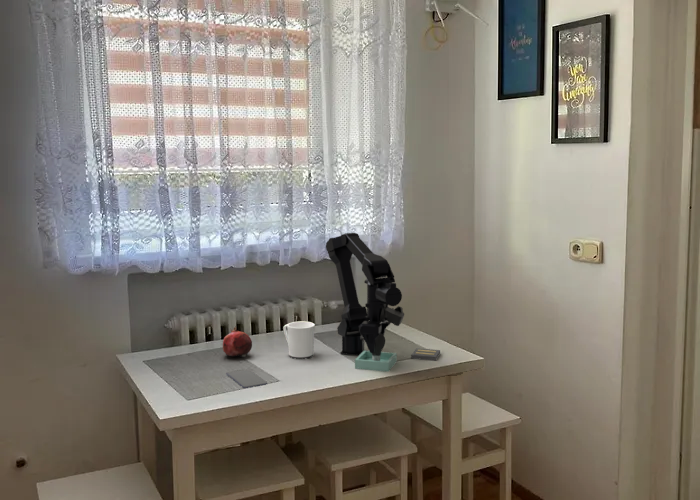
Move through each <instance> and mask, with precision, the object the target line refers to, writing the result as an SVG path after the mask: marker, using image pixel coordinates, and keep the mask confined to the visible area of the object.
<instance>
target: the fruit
mask: <svg viewBox="0 0 700 500" xmlns="http://www.w3.org/2000/svg"><path fill="white" fill-rule="evenodd" d="M230 331H231V332H230V333H228V334H227V335H225V336H224V337H223V341H222V350H223V352H224V354H226V355H227V356H229V357H245V358H247V355H248V354H249V353H250V352H251V350H252V347H253V341H252V339H251V337H250V336H249V334H247V333H246V332H244V331H239V330H238V329H237V325H234V327H233V329H230Z"/></svg>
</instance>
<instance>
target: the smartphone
mask: <svg viewBox="0 0 700 500" xmlns="http://www.w3.org/2000/svg"><path fill="white" fill-rule="evenodd" d="M225 374H227V375H228V376H227V375H226V376H227V377H228V378H230V379H231V380H232V379H233V380H232V381H234V382H235V383H236V382H237V383H238V385H239V386H240V387H241V386H242V387H241V388H243V389H249V388H248V387H250V388H254V387H253V386H255V387H256V386H257V387H261V386H264V385H265V386H266V384H267V385H268V381H266V380H265V379H263V378H262V377H261V376H260V375H258V374H256V373H255V372H254V371H253V370H251V369H250V368H244V369H239V370H238V369H237V370H232V371H226V373H225ZM237 383H236V384H237ZM260 385H261V386H260Z"/></svg>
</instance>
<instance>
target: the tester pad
mask: <svg viewBox="0 0 700 500" xmlns="http://www.w3.org/2000/svg"><path fill="white" fill-rule="evenodd" d="M440 355H441V349H430V348H420V347H417V348H415V349H414V351H413V352H412V354H410V359H412V360H413V359H414V360H426V361H437V359H438V358H439V356H440Z"/></svg>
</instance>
